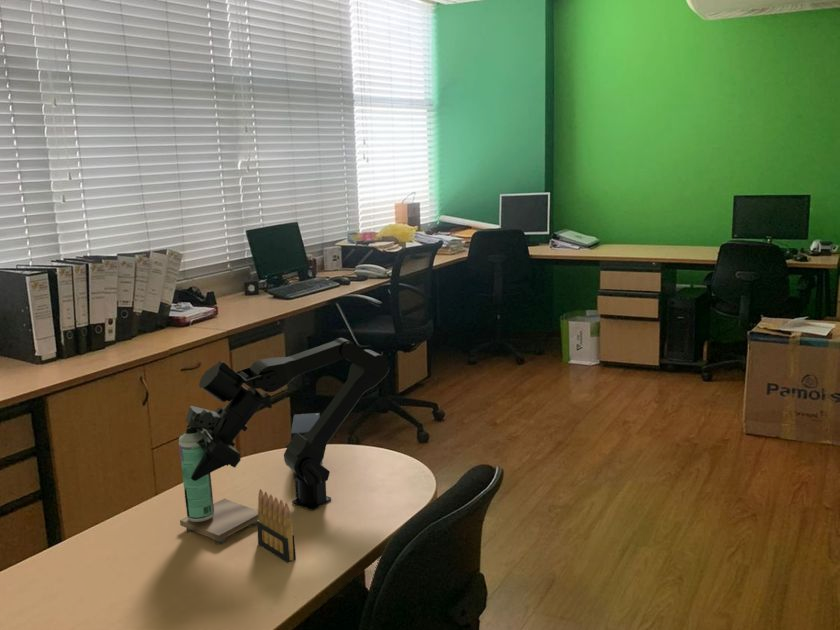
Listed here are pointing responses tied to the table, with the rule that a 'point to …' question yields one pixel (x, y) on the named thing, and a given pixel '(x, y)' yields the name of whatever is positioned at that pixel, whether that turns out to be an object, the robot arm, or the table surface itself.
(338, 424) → the robot arm
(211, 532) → the flat square brown plate
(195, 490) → the spray can
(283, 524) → the ammunition clip
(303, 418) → the small box
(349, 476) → the table surface
